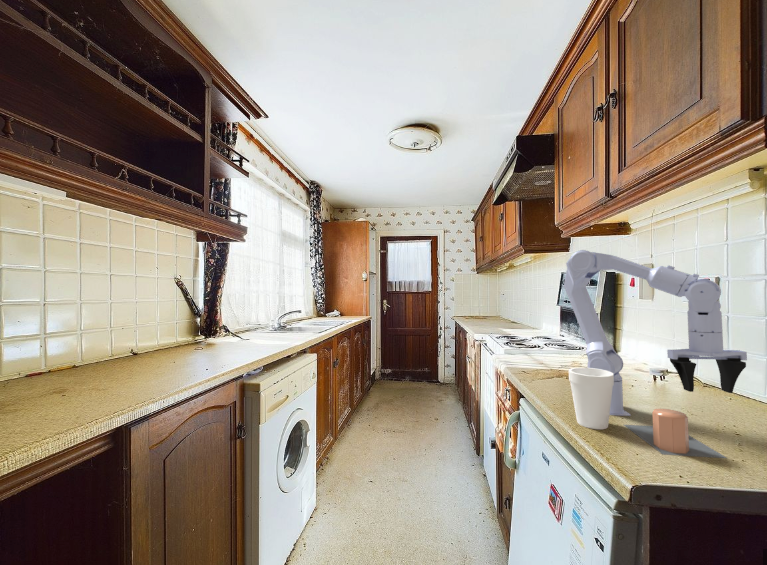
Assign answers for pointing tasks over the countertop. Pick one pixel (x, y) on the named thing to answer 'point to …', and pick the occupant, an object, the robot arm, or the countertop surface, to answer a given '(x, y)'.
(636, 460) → the countertop surface
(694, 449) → the mat
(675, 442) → the salmon pink faceted cylinder
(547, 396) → the countertop surface
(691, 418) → the countertop surface
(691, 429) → the countertop surface
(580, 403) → the foam cup
